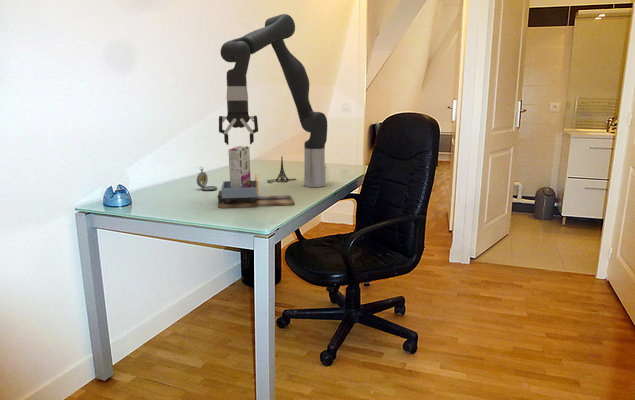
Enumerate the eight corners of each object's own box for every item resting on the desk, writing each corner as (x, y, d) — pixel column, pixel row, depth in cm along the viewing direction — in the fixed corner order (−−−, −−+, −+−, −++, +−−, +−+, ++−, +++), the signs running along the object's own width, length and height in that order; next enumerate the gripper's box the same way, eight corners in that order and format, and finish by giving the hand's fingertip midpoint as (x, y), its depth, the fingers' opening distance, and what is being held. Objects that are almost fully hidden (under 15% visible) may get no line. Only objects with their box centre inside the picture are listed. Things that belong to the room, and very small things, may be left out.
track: (290, 197, 182) (290, 187, 181) (294, 205, 168) (294, 194, 168) (219, 199, 177) (219, 189, 177) (218, 207, 164) (217, 197, 163)
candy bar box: (238, 187, 177) (237, 145, 173) (251, 188, 176) (250, 146, 173) (229, 193, 166) (227, 148, 163) (242, 193, 165) (241, 149, 162)
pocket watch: (216, 191, 194) (215, 168, 192) (196, 191, 193) (195, 168, 191) (217, 187, 202) (216, 165, 200) (198, 188, 201) (197, 165, 199)
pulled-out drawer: (257, 195, 180) (256, 174, 178) (258, 203, 165) (258, 180, 164) (223, 196, 178) (222, 175, 176) (221, 204, 163) (220, 181, 162)
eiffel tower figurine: (296, 179, 225) (296, 152, 222) (299, 183, 216) (299, 155, 213) (266, 180, 222) (265, 153, 220) (268, 184, 213) (267, 156, 210)
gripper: (256, 99, 168) (258, 142, 172) (217, 99, 166) (220, 143, 170) (257, 99, 161) (259, 144, 165) (216, 99, 159) (219, 145, 162)
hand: (239, 144), depth 167 cm, fingers open, 8 cm apart
